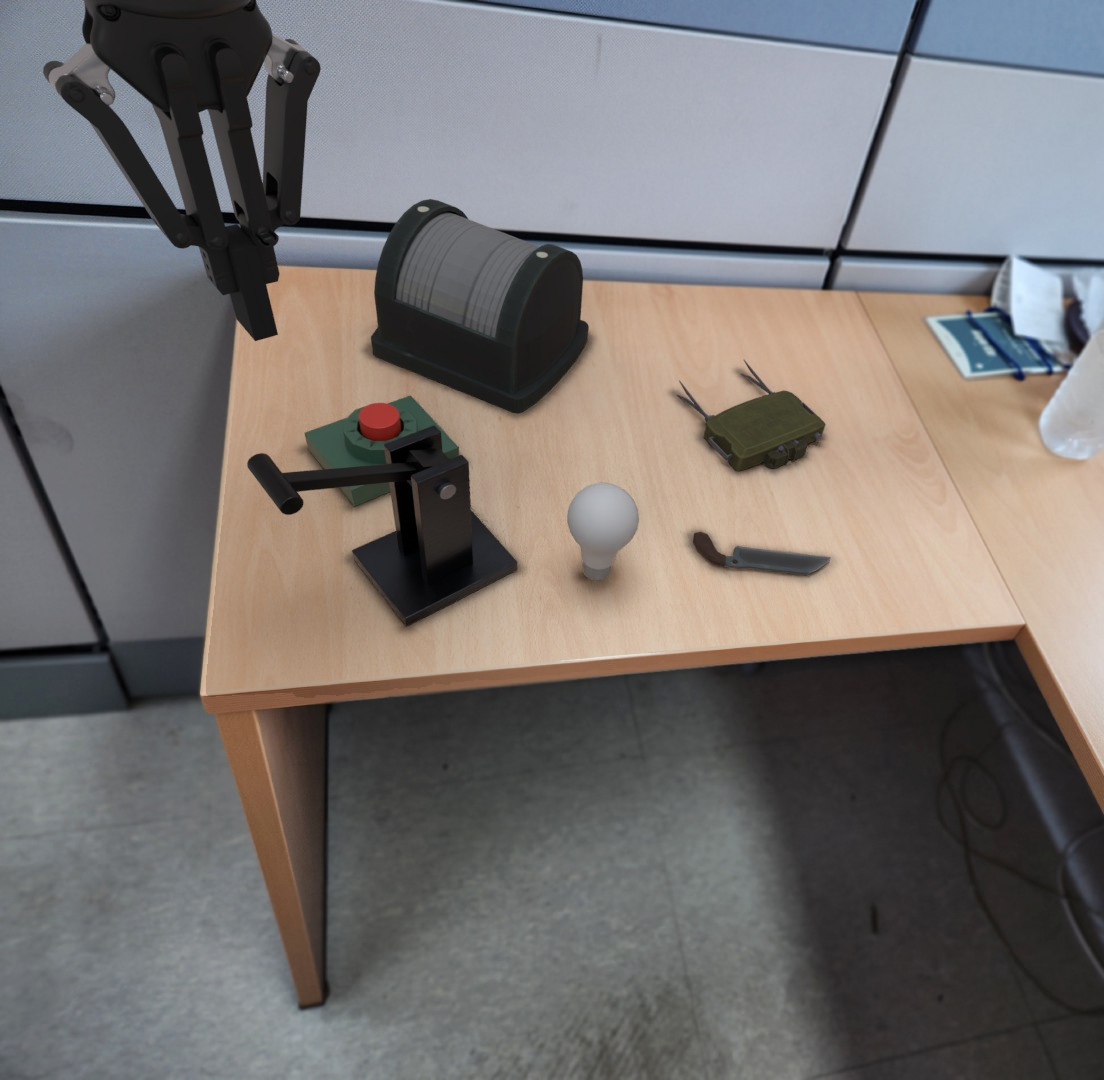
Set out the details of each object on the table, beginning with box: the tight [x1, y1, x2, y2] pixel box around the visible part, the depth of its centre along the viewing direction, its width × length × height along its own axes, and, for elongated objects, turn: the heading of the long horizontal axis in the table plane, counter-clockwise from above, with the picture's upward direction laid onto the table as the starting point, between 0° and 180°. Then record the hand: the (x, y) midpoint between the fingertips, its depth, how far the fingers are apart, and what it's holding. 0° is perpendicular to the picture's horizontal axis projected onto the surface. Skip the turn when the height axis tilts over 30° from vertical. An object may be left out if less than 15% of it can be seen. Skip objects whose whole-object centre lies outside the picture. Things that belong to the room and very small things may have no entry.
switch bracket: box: [351, 425, 518, 627], centre depth 71 cm, size 11×9×14 cm
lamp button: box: [359, 402, 401, 441], centre depth 80 cm, size 4×4×2 cm
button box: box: [304, 395, 460, 507], centre depth 82 cm, size 11×9×4 cm
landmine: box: [677, 359, 826, 472], centre depth 96 cm, size 14×3×15 cm
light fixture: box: [370, 198, 590, 414], centre depth 92 cm, size 17×14×20 cm
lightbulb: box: [566, 482, 640, 582], centre depth 75 cm, size 6×6×11 cm
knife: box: [692, 531, 832, 576], centre depth 84 cm, size 14×4×1 cm, turn 90°
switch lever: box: [246, 448, 450, 516], centre depth 63 cm, size 14×5×2 cm, turn 133°
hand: (257, 326), depth 56 cm, fingers closed
